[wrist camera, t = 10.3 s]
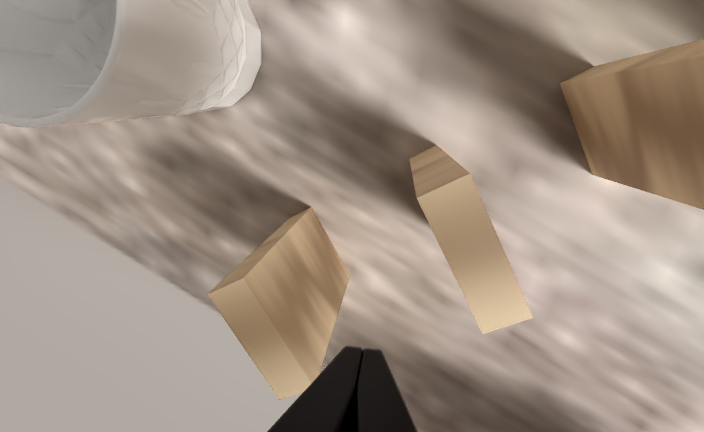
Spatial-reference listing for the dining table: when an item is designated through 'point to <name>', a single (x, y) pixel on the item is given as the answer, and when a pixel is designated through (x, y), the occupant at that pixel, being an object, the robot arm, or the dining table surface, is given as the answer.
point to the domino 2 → (468, 240)
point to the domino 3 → (645, 121)
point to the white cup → (123, 59)
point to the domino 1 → (286, 302)
